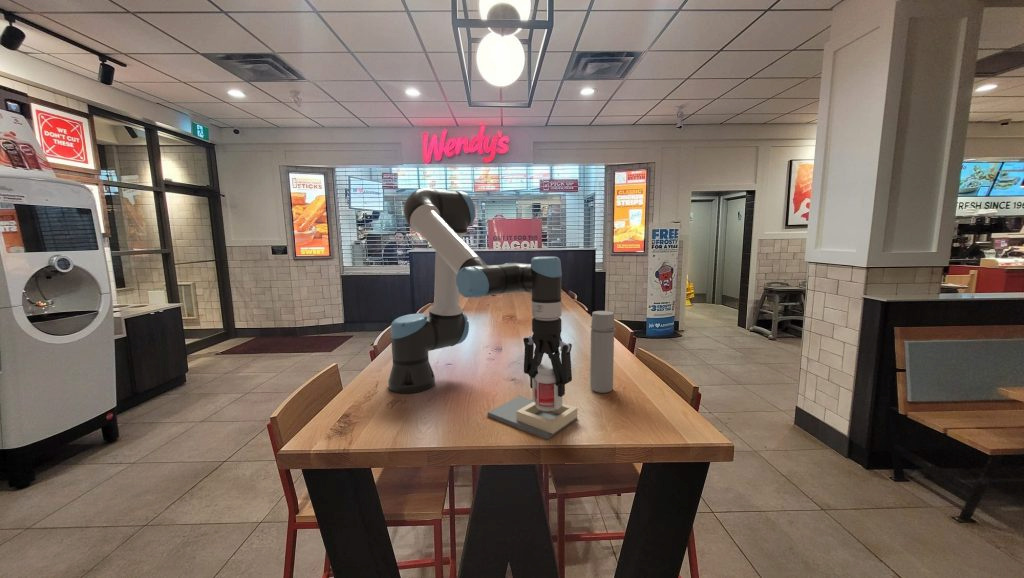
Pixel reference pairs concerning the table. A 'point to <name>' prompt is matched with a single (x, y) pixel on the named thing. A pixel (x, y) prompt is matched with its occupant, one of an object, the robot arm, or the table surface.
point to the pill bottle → (545, 388)
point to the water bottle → (602, 351)
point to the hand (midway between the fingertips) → (547, 403)
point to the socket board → (534, 417)
